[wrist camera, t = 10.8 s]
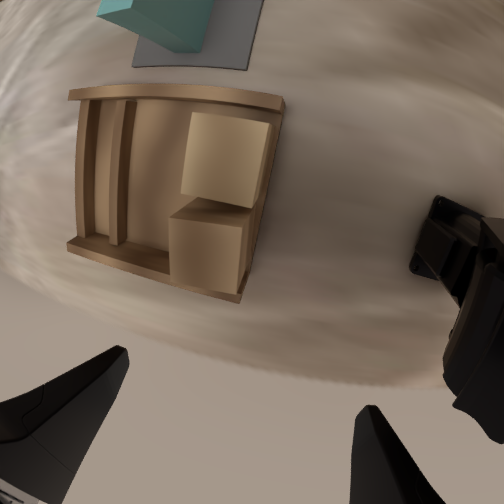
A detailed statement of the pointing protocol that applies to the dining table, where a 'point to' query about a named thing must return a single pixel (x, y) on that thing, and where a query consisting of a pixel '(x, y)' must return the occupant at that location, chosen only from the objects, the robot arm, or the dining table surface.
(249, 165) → the offcut
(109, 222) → the tray
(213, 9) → the mat
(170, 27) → the teal flat slab
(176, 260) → the offcut
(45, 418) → the robot arm
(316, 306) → the dining table surface
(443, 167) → the dining table surface
